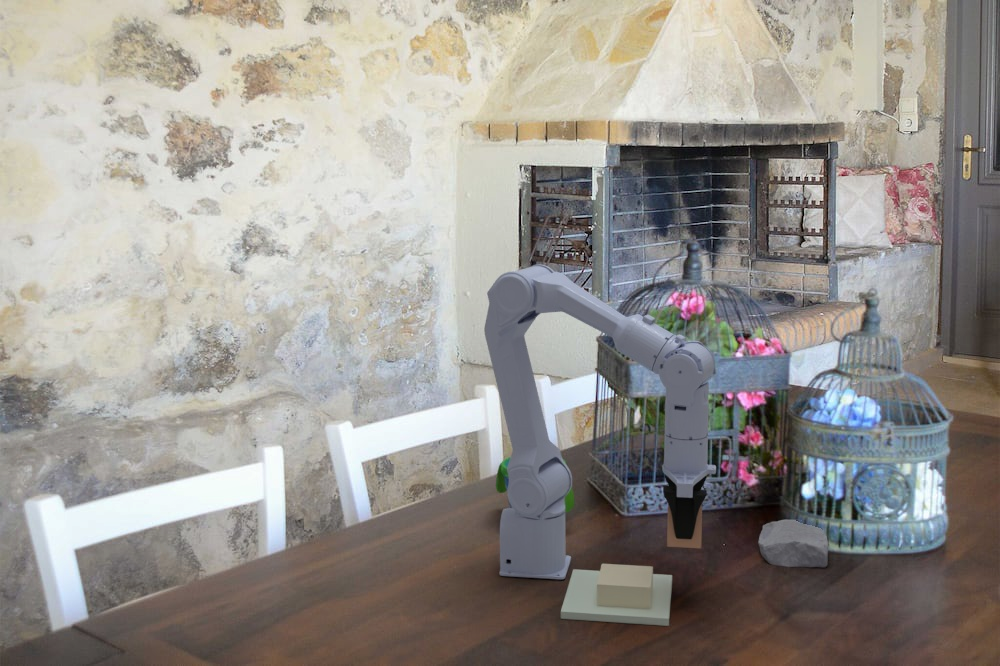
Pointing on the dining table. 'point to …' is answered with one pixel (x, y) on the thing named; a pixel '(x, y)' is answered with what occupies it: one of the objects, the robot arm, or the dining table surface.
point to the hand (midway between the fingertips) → (684, 531)
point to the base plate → (592, 612)
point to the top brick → (686, 543)
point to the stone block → (793, 544)
